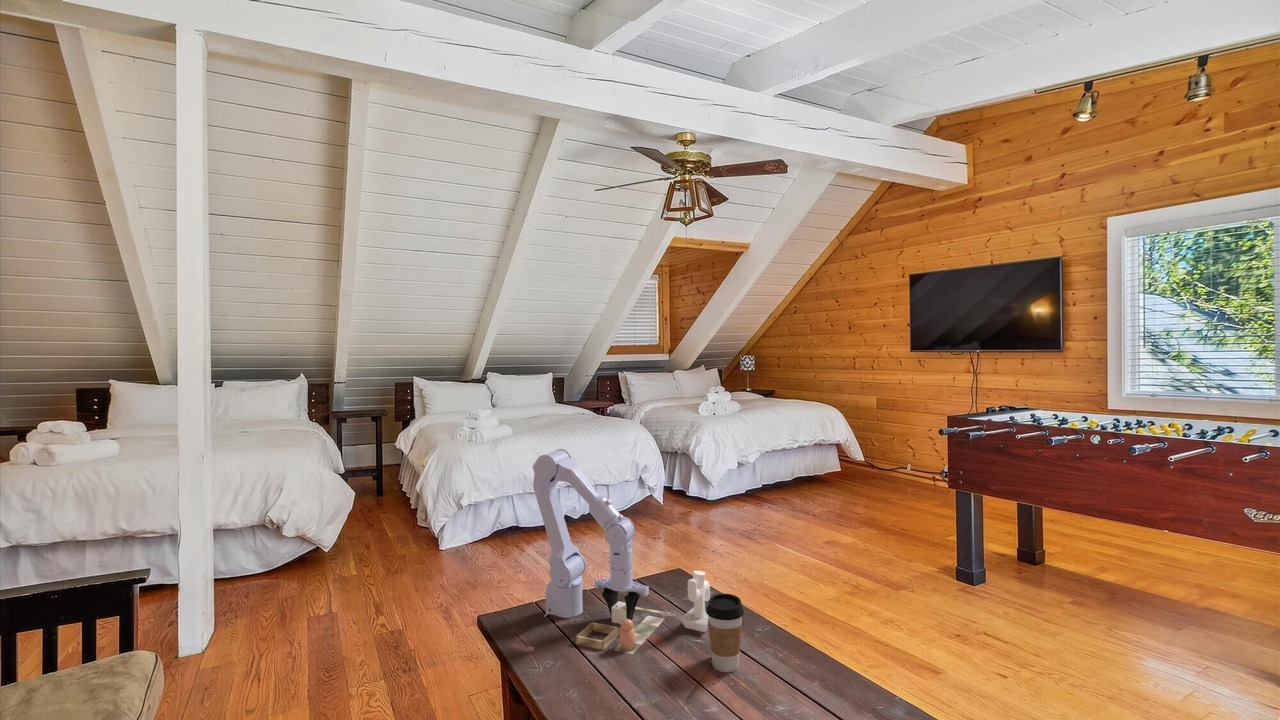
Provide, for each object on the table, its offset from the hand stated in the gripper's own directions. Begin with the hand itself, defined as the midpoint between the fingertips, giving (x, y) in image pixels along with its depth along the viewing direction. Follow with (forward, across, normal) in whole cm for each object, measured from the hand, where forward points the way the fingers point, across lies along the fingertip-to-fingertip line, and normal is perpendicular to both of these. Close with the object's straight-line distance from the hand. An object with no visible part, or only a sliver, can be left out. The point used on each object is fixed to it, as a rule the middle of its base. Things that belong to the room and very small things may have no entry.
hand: (622, 618), depth 169 cm
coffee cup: (+2, -30, +10) cm, 32 cm away
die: (+1, 0, 0) cm, 1 cm away
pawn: (0, -8, +12) cm, 15 cm away
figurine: (+2, -20, -4) cm, 20 cm away
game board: (+2, -2, +4) cm, 5 cm away
